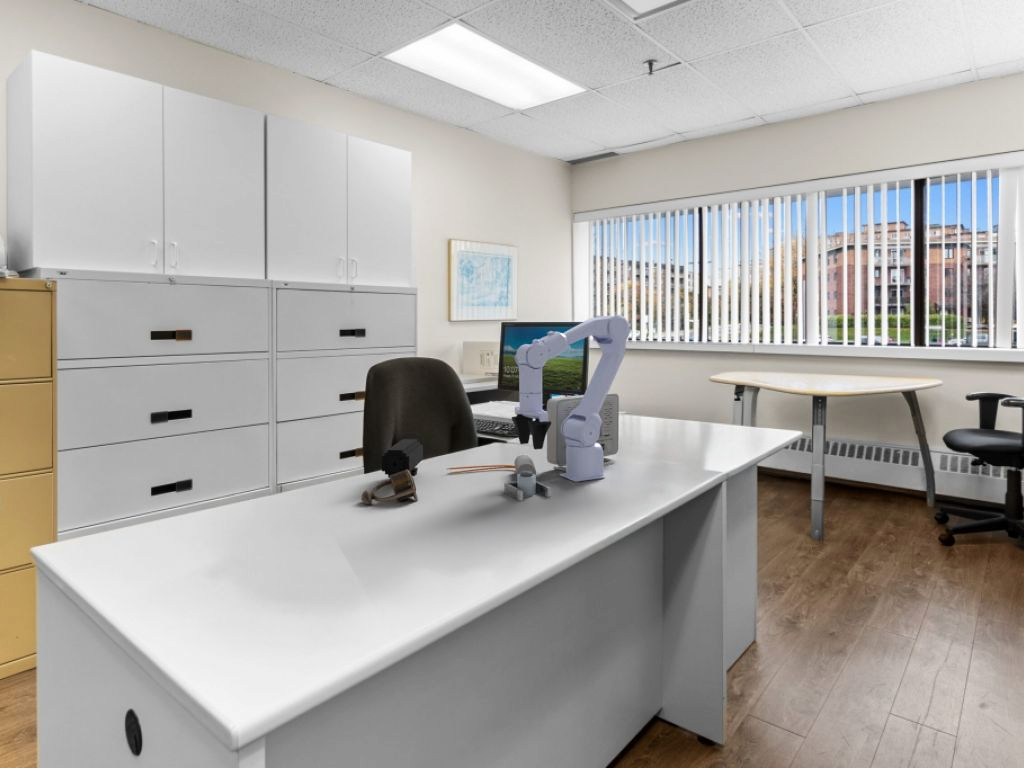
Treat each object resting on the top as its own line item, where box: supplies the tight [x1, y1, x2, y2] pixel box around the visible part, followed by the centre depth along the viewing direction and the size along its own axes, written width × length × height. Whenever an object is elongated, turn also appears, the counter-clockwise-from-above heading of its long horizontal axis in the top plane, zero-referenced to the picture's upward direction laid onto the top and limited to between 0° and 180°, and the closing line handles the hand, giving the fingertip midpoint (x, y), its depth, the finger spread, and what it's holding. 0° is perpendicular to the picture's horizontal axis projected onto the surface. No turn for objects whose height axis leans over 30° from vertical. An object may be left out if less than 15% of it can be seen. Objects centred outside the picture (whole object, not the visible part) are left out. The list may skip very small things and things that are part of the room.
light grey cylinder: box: [516, 471, 537, 497], centre depth 151 cm, size 4×4×5 cm
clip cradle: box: [503, 480, 552, 502], centre depth 150 cm, size 8×9×2 cm
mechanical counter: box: [361, 470, 418, 506], centre depth 146 cm, size 7×13×10 cm
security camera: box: [381, 438, 424, 479], centre depth 163 cm, size 7×18×10 cm, turn 175°
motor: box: [446, 453, 537, 476], centre depth 165 cm, size 23×22×5 cm
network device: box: [546, 392, 620, 472], centre depth 180 cm, size 26×9×20 cm, turn 130°
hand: (531, 446), depth 158 cm, fingers open, 7 cm apart
